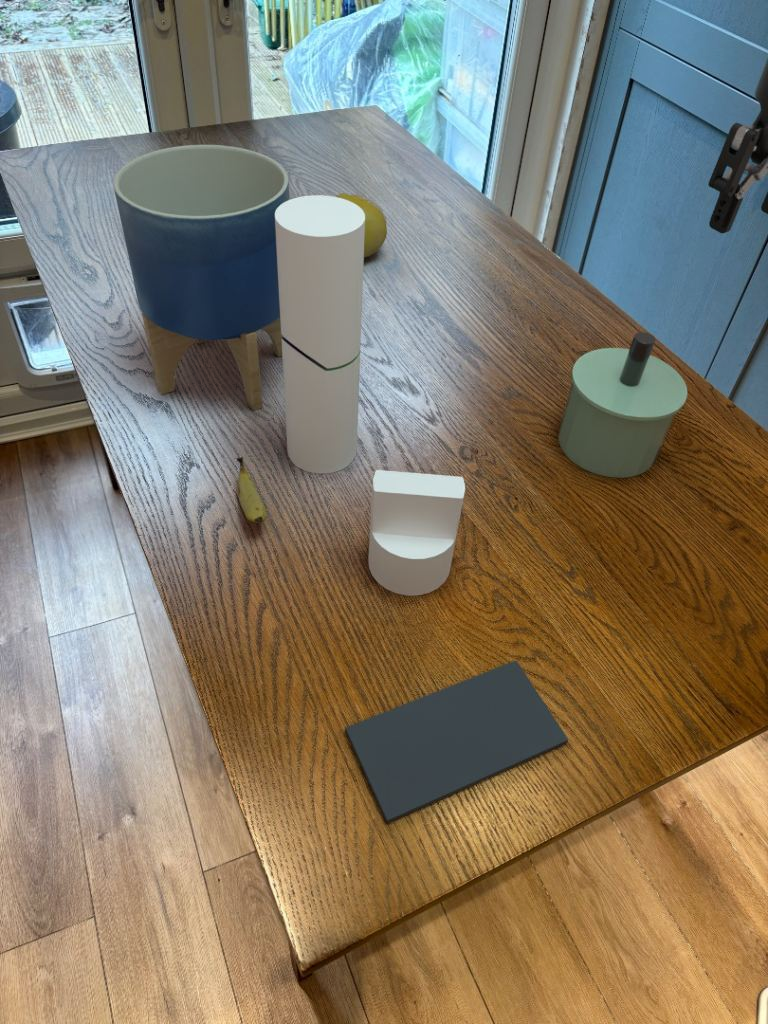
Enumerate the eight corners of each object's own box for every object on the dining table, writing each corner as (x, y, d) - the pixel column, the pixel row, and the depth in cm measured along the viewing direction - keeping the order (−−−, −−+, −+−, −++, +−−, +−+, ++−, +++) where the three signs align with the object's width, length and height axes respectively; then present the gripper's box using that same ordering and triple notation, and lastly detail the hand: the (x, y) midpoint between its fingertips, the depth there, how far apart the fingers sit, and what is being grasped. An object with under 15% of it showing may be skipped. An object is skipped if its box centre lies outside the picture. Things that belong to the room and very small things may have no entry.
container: (314, 483, 89) (309, 245, 67) (273, 444, 93) (257, 209, 71) (370, 454, 93) (383, 221, 71) (329, 418, 97) (329, 188, 75)
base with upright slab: (450, 535, 84) (464, 456, 76) (450, 599, 78) (465, 521, 70) (371, 528, 85) (376, 449, 76) (364, 592, 78) (369, 513, 70)
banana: (271, 539, 83) (269, 515, 80) (250, 544, 82) (247, 519, 79) (252, 478, 89) (250, 453, 86) (232, 482, 88) (229, 457, 86)
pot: (654, 422, 100) (678, 363, 93) (657, 486, 92) (684, 426, 85) (560, 405, 102) (577, 346, 95) (555, 467, 93) (573, 407, 86)
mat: (514, 664, 73) (516, 659, 73) (566, 743, 68) (568, 739, 67) (345, 731, 68) (345, 727, 67) (386, 824, 62) (387, 820, 62)
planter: (189, 433, 94) (152, 233, 75) (133, 355, 104) (88, 161, 85) (322, 386, 102) (319, 194, 83) (257, 318, 112) (242, 133, 93)
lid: (680, 365, 94) (701, 315, 89) (687, 434, 85) (711, 383, 80) (572, 347, 96) (586, 297, 90) (567, 413, 86) (582, 361, 81)
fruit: (380, 273, 123) (383, 214, 116) (316, 265, 124) (315, 205, 117) (390, 244, 130) (393, 186, 123) (329, 236, 131) (329, 179, 124)
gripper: (803, 71, 63) (728, 252, 75) (899, 51, 69) (815, 222, 80) (732, 45, 67) (672, 220, 79) (828, 29, 73) (758, 194, 85)
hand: (744, 221), depth 80 cm, fingers open, 8 cm apart
